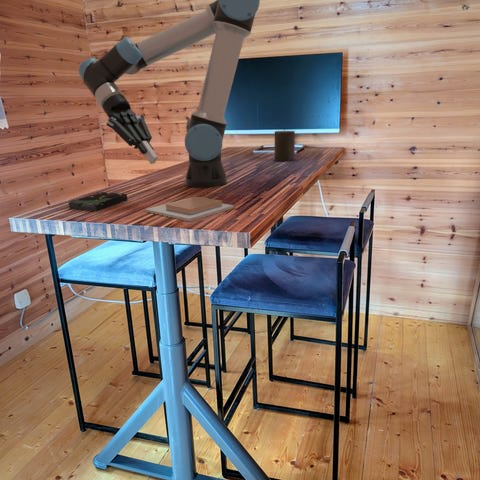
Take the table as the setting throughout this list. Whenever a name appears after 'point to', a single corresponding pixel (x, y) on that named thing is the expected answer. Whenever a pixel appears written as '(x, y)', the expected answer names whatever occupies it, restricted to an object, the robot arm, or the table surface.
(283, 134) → the pillar candle
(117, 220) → the table surface
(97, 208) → the disk drive
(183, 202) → the tile
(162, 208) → the mat
